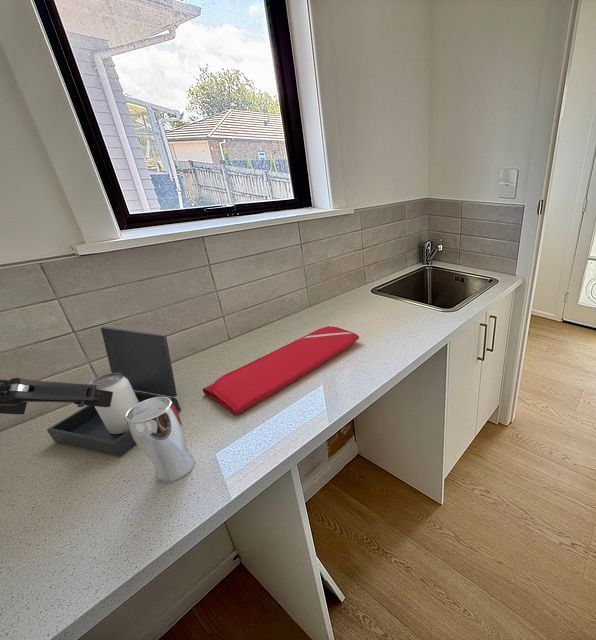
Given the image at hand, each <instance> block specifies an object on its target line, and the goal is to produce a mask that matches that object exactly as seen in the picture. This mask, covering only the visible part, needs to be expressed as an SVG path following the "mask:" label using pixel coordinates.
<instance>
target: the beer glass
mask: <svg viewBox="0 0 596 640" xmlns="http://www.w3.org/2000/svg"><path fill="white" fill-rule="evenodd" d="M168 397H169V396H167V397H154V398H150V399H147V400H144V401H142V402H139V403H138V404H136V405H134V406H133V407H131V408H130V409H129V410H128V411H127V412H126V414H125V420H126V422H127V425H128V428H129V431H130V433H131V435H132V438H133V439H134V441H135V443H136V444H137V445H136V446H137V447H138V448H139V449H140V451H141V452H142V453H143V454H144V455H145V456H146V457H147V458H148V459H149V460H150V461H151V463H152V464H153V466H154V470H155V476H156V479H157V481H159V482H161V483H172V482H175V481H178V480H181V479H182V478H184V477H185V476H187V475H188V474H189V473H190V472H191V471H192V469H193V468H194V467H195V464H196V461H195V460H196V459H195V458H194V457H193V455H192V454H191V453H190V451H189V450H188V448H187V445H186V438H185V437H186V436H185V430H184V426H183V422H182V419H181V416H180V414H179V412H177V410H176V408H175V407H174V405H173V403H172V401H171V399H170V398H168Z"/></svg>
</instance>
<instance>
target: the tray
mask: <svg viewBox="0 0 596 640" xmlns="http://www.w3.org/2000/svg"><path fill="white" fill-rule="evenodd" d="M133 391H134V393H135V395H136V397H137V399H138V401H139V402H142V401H144V400H147V399H150V398H154V397H168V398H170V399H171V401H172V403H173V405H174V407H175V408H176V410H177V412H178V413H179V412H181V411H182V408H181V406H180V404H179V401H178V399H177V397H170V396H165V395H159V394H153V393H147V392H142V391H136V390H133ZM46 431H47V433H48V434H49V436H50V437H51V439H52V441H53V442H54V443H56V444H60V445H65V446H69V447H74V448H79V449H82V450H83V449H84V450H87V451H92V452H96V453H100V454H105V455H110V456H115V457H118V458H121V457H122V456H124V455H125V454H127V453H128V452H129V451H130V450H131V449H133V448H134V447H135V446H137V444H136V443H135V441H134V439H133V438H132V435H131V433H130V431H128V432H126V433H124V434H112V433H110V432H109V431H108V430H107V428H106V426H105V424H104V423H103V421H102V419H101V417H100V415H99V414H98V412H97V410H96V408H95V406H88V405H85V406H84V407H81V408H80V409H79V410H77V411H75V412H74V413H72V414H71V415H69V416H67V417H66V418H63V419H62V420H61V421H59V422H57V423H55V424H54V425H52V426H50V427H49V428H47V429H46Z"/></svg>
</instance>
